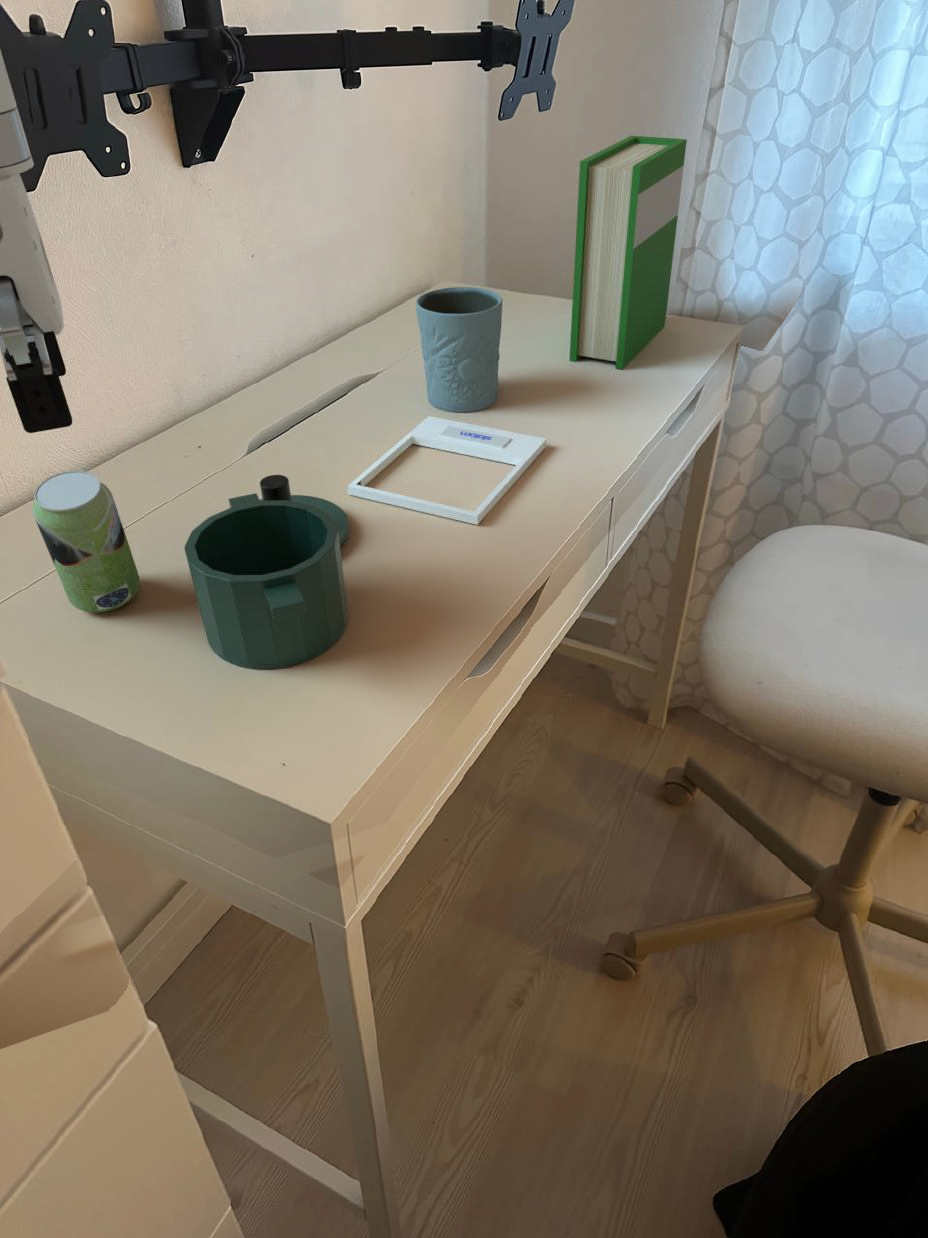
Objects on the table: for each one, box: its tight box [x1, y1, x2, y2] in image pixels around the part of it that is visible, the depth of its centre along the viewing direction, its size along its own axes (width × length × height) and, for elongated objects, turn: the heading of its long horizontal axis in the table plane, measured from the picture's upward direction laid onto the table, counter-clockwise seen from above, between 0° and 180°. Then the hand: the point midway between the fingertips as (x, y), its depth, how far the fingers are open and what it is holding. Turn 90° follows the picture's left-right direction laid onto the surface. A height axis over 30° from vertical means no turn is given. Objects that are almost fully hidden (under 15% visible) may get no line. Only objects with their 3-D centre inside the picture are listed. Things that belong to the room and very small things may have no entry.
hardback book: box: [569, 135, 688, 370], centre depth 116 cm, size 18×7×24 cm, turn 152°
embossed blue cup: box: [414, 286, 504, 413], centre depth 106 cm, size 10×10×12 cm
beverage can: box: [32, 470, 141, 613], centre depth 74 cm, size 6×7×12 cm
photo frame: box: [346, 415, 547, 526], centre depth 95 cm, size 15×1×18 cm
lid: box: [259, 474, 350, 547], centre depth 83 cm, size 13×13×6 cm
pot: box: [183, 492, 349, 670], centre depth 72 cm, size 12×17×8 cm
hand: (47, 401), depth 67 cm, fingers open, 9 cm apart
